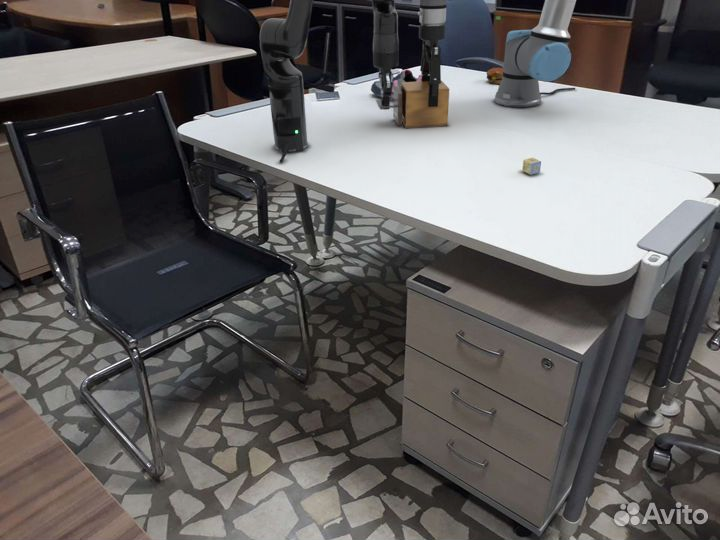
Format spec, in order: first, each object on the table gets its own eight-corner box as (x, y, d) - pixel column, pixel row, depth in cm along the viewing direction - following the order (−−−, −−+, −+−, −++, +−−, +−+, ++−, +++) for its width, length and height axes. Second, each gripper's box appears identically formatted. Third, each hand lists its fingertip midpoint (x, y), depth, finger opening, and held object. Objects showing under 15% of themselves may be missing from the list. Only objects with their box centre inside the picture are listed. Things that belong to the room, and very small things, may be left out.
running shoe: (382, 90, 212) (382, 60, 206) (438, 103, 195) (439, 70, 190) (365, 95, 206) (364, 64, 201) (420, 108, 190) (421, 75, 184)
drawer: (379, 126, 172) (379, 94, 167) (376, 117, 180) (375, 87, 175) (435, 123, 173) (437, 91, 169) (429, 114, 181) (430, 84, 177)
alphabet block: (529, 175, 138) (531, 163, 136) (521, 170, 140) (523, 159, 139) (540, 173, 139) (541, 161, 137) (531, 168, 141) (533, 157, 140)
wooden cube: (405, 128, 173) (406, 90, 167) (400, 118, 182) (400, 82, 176) (447, 125, 174) (449, 88, 168) (439, 116, 183) (441, 80, 177)
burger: (509, 78, 224) (510, 66, 222) (513, 84, 216) (515, 71, 214) (483, 78, 224) (484, 66, 222) (487, 84, 216) (488, 72, 214)
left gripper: (370, 45, 171) (371, 103, 180) (375, 54, 160) (376, 115, 169) (395, 44, 171) (394, 102, 180) (402, 52, 160) (401, 114, 169)
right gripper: (412, 19, 173) (410, 92, 184) (427, 30, 153) (424, 112, 164) (436, 18, 173) (433, 91, 185) (454, 29, 154) (449, 111, 165)
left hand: (385, 108), depth 174 cm, fingers closed
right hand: (429, 101), depth 175 cm, fingers closed on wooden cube, 11 cm apart
